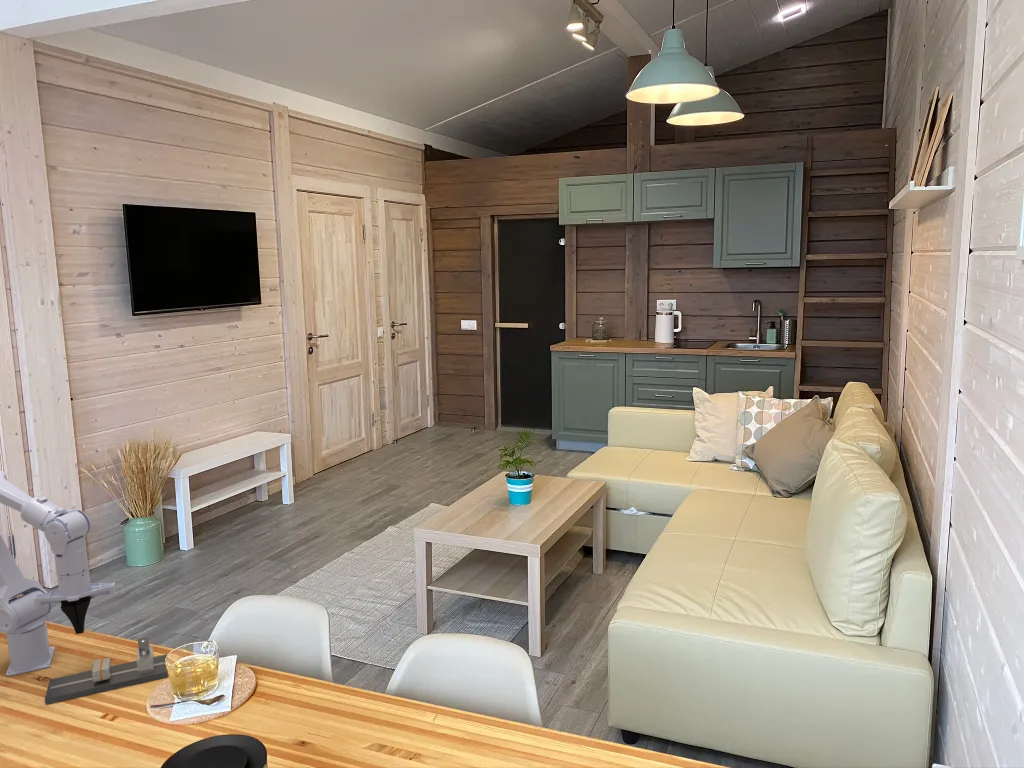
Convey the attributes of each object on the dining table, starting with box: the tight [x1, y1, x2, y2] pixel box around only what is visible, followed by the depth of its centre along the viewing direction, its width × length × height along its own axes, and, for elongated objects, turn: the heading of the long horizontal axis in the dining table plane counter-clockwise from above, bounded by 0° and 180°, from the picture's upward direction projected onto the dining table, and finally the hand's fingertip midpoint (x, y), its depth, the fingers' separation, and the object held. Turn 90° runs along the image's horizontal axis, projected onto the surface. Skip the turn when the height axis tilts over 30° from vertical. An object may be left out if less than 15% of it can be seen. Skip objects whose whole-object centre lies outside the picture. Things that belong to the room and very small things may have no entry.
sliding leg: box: [92, 657, 112, 682], centre depth 157 cm, size 5×3×2 cm, turn 25°
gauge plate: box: [44, 637, 169, 706], centre depth 157 cm, size 8×22×7 cm, turn 115°
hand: (80, 631), depth 160 cm, fingers closed
